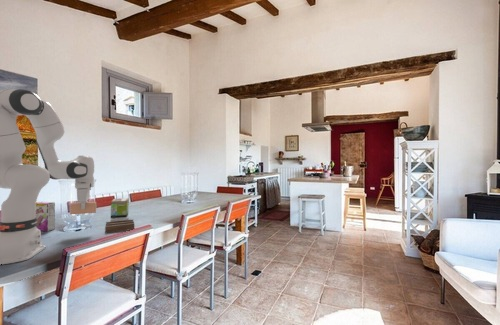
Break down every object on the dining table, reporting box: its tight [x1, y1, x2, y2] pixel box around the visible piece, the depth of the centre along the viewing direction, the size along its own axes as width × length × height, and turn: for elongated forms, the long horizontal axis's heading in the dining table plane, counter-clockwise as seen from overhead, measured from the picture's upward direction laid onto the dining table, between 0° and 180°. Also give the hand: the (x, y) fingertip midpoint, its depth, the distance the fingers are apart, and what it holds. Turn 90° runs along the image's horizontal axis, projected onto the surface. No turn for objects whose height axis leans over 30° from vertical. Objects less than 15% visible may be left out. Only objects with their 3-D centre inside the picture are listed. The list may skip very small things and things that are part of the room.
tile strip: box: [69, 201, 97, 215], centre depth 136 cm, size 2×12×6 cm, turn 119°
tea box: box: [109, 197, 130, 222], centre depth 165 cm, size 15×10×15 cm, turn 24°
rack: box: [104, 219, 135, 234], centre depth 145 cm, size 12×15×4 cm
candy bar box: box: [35, 201, 56, 232], centre depth 140 cm, size 11×5×16 cm, turn 84°
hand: (83, 208), depth 136 cm, fingers closed on tile strip, 2 cm apart
